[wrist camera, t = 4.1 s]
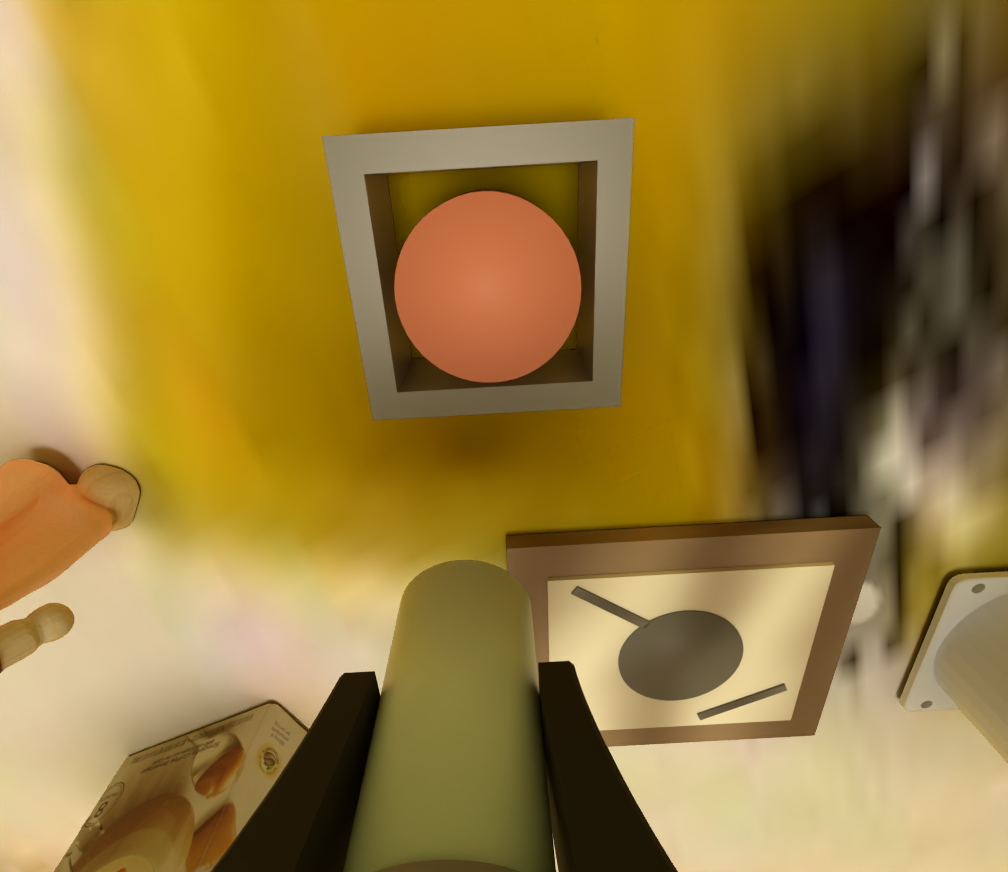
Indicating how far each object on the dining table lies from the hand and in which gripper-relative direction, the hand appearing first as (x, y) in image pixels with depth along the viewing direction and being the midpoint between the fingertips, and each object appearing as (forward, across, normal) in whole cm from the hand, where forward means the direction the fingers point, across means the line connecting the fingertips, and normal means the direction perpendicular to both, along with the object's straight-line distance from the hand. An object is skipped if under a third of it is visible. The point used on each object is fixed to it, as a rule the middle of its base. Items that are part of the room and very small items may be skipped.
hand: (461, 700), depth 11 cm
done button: (+8, -1, -7) cm, 11 cm away
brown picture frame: (+9, -8, +9) cm, 15 cm away
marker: (+2, 0, 0) cm, 2 cm away
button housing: (+9, -1, -7) cm, 12 cm away
